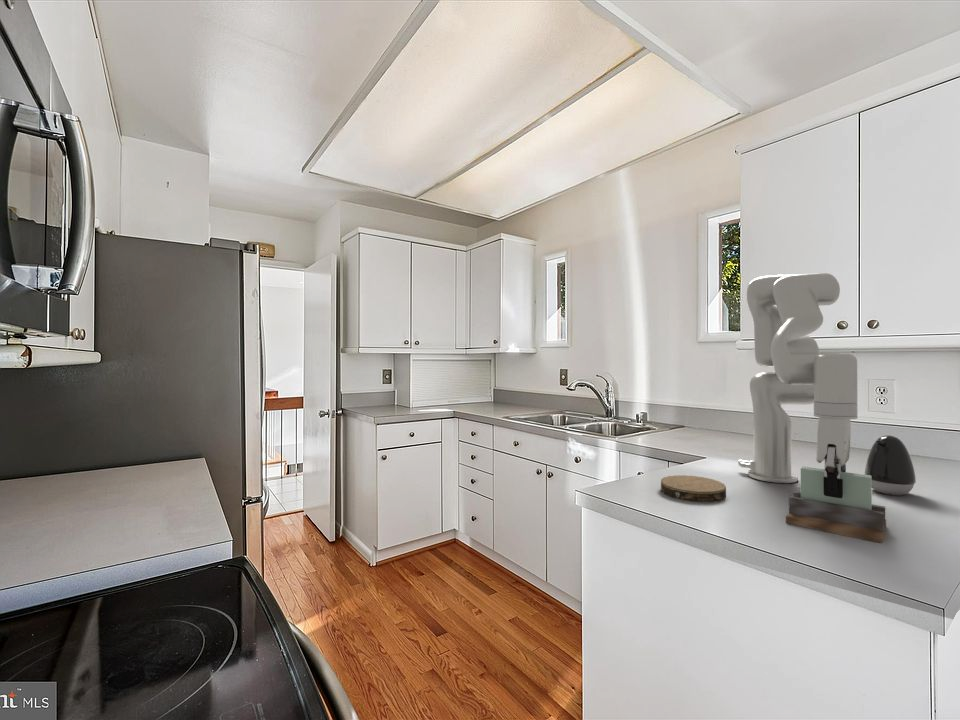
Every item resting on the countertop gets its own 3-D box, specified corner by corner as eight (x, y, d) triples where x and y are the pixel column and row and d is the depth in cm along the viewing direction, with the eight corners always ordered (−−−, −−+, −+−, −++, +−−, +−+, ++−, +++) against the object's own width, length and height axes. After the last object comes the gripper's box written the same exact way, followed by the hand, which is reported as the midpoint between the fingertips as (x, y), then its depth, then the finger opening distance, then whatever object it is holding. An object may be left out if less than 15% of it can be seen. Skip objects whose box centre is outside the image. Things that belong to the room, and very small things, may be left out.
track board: (785, 522, 101) (785, 500, 101) (797, 509, 110) (796, 488, 110) (882, 543, 90) (882, 517, 90) (886, 526, 99) (886, 503, 99)
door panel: (800, 512, 103) (800, 468, 103) (802, 510, 105) (802, 466, 105) (870, 526, 95) (870, 477, 95) (871, 522, 97) (871, 475, 97)
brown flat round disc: (675, 482, 135) (675, 472, 135) (734, 493, 124) (734, 482, 124) (650, 494, 124) (650, 483, 124) (713, 508, 112) (713, 495, 112)
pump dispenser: (855, 489, 125) (855, 434, 125) (877, 485, 129) (877, 431, 129) (902, 500, 115) (902, 440, 115) (924, 495, 120) (924, 437, 119)
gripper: (820, 405, 108) (820, 482, 109) (806, 412, 96) (806, 498, 96) (861, 408, 103) (861, 488, 103) (852, 415, 91) (852, 506, 91)
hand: (835, 492), depth 100 cm, fingers open, 5 cm apart
